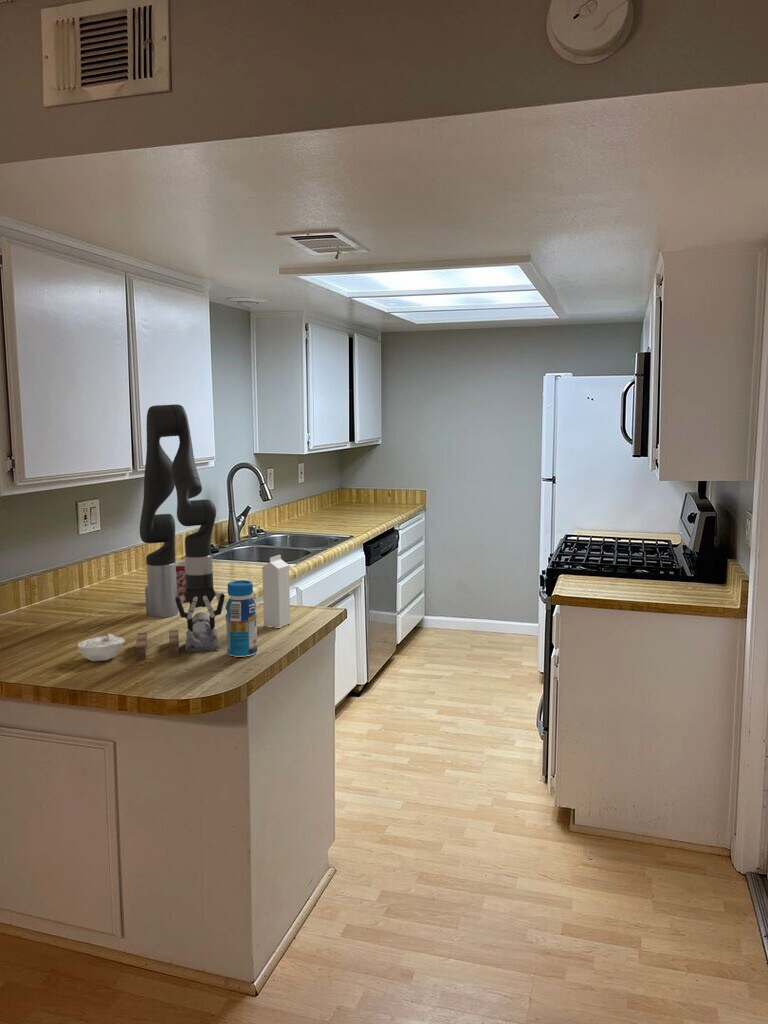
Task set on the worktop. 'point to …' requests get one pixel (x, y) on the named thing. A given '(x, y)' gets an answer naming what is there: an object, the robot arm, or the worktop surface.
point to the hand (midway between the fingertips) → (201, 630)
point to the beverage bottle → (241, 619)
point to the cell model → (101, 647)
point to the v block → (201, 642)
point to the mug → (181, 578)
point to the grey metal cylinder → (201, 626)
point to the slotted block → (142, 645)
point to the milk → (276, 592)
